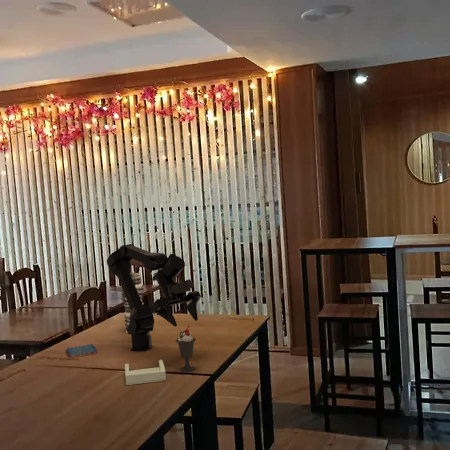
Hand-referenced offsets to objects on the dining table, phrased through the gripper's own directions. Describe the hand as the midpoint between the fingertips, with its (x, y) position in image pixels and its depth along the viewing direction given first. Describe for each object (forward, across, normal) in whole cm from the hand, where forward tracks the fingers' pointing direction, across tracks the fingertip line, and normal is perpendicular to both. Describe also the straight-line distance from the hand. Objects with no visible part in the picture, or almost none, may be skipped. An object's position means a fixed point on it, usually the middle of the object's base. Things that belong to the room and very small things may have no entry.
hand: (186, 323), depth 196 cm
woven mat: (-14, -18, +43) cm, 49 cm away
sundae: (+14, -5, +4) cm, 16 cm away
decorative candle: (-20, +14, +50) cm, 56 cm away
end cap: (+11, -18, +8) cm, 23 cm away
